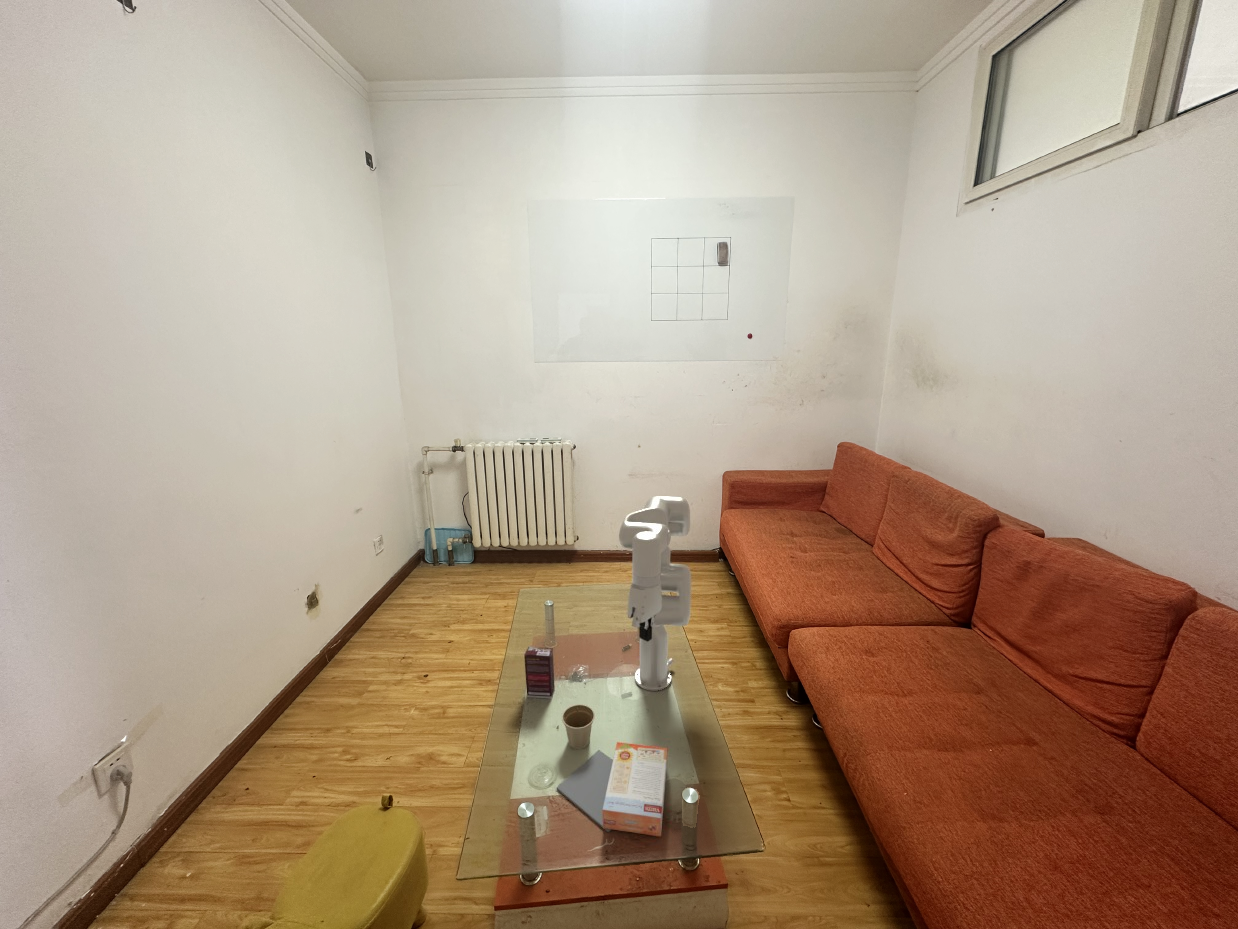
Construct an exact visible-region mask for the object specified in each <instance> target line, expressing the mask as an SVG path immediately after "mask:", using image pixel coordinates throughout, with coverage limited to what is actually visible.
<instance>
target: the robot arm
mask: <svg viewBox="0 0 1238 929" xmlns="http://www.w3.org/2000/svg"><path fill="white" fill-rule="evenodd" d="M690 529H691V509H690V505H689V503H688V501H687V500H686V498H684V497H681V496H666V495H665V496H664V495H663V496H662V495H657V496H656V495H655V496H652V497H650V498H649V499H648V500H647V501H646V503H645V505H644V508H643V509H642V510H641V509H640V510H638V511H634V512H631V513H629V514H627V515H626V516H625V517H624V519H623V521H622V522H621V525H620V529H619V533H618V541H619V543H620V545H621V546H622V547H623V548H624V549H627V550H632V571H631V573H632V579H631V580H632V581H631V583H632V584H630V588H629V591H628V592H629V594H628V601H627V618H628V619H632V622H631V626H632V627H633V628H638V630H639V631H638V632H639V634H638V636H639V668H638V669H637V670H636V671H635V674H634V680H635V683H636V684H637V685H638V686H639V687H640V688H642V689H643V690H647V691H651V692H658V690H659V691H662V689H663V690H664V688H665V687H667V686H668V685H669V684H670V685H671V683H670V682H672V675H670V674H671V672H670V671H669V668H670V666H672V664H674V659H673V658H672V657H670V658H668V650H669V641H668V639H669V634H668V631H667V628H666V626H675V627H684V626H687V625H688V624H689V622H690V618H691V609H692V608H691V604H692V603H691V602H692V601H691V600H692V573H691V570H690V568H689V566H687V565H686V564H681V563H671V548H670V546H669V545H670V542H671V539H672V537H686V536H687V535H688V534H689V532H690ZM663 592H668V593H675V594H676V595H671V594H670V595H668V594H663ZM668 678H670V679H668ZM670 685H669V686H670ZM669 686H668V687H669ZM668 687H667V688H668ZM665 689H666V688H665Z"/></svg>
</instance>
